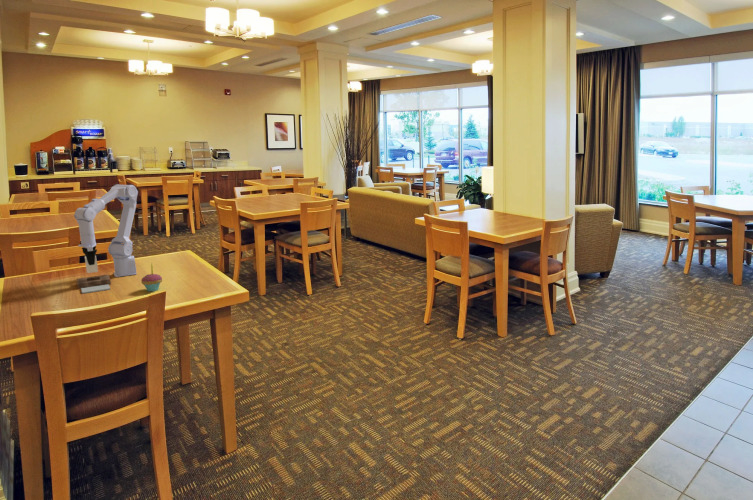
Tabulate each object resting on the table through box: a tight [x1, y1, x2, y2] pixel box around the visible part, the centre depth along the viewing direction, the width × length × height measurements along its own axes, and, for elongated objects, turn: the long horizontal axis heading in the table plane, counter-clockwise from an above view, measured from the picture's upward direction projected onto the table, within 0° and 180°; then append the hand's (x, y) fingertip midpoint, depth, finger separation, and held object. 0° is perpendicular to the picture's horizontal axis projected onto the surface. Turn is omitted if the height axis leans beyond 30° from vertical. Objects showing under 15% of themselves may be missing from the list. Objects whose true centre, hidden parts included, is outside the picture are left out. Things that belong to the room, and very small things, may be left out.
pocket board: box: [76, 274, 112, 290], centre depth 236 cm, size 13×9×2 cm
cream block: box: [84, 255, 99, 274], centre depth 233 cm, size 4×4×7 cm
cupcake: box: [141, 263, 163, 292], centre depth 226 cm, size 9×8×12 cm
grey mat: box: [80, 284, 111, 294], centre depth 228 cm, size 11×7×1 cm, turn 122°
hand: (91, 263), depth 233 cm, fingers closed on cream block, 4 cm apart
